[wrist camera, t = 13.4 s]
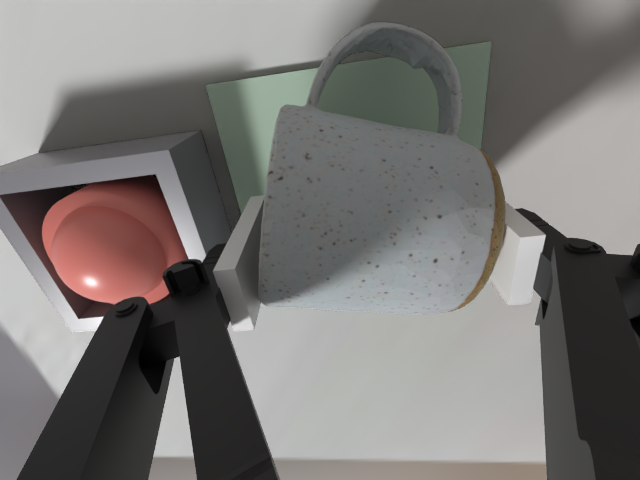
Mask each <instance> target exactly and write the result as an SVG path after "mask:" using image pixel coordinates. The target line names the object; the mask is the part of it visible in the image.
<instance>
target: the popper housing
mask: <svg viewBox="0 0 640 480" xmlns="http://www.w3.org/2000/svg"><path fill="white" fill-rule="evenodd" d="M153 174H156V176H157V179H158V181H159V184H160V187H161V189H162V192H163V194H164V197H165V199H166V202H167V205H168V207H169V210H170V212H171V215H172V217H173V220H174V223H175V225H176V228H177V230H178V233H179V236H180V238H181V241H182V243H183V246H184V248H185V251H186V254H187V256H188V259H198V260H201V261H202V262H203V260H204V259H205V257H206V255H207V253H208V252H209V250H211V249H212V248H213V247H214V246H216V245H217V244H224V243H227V242H228V240H229V238H230V236H231V234H232V233H231V229H230V226H229V223H228V219H227V216H226V213H225V209H224V206H223V203H222V199H221V196H220V193H219V189H218V186H217V183H216V179H215V176H214V173H213V169H212V166H211V163H210V159H209V156H208V153H207V149H206V146H205V143H204V139H203V136H202V133H201V130H198V131H191V132H184V133H177V134H170V135H163V136H156V137H149V138H142V139H135V140H128V141H121V142H114V143H107V144H100V145H93V146H86V147H79V148H72V149H65V150H58V151H51V152H43V153H37V154H34V155H31V156H28V157H25V158H22V159H20V160H17V161H14V162H11V163H8V164H5V165H2V166H0V229H1V230H2V231H3V233H4V234H5V236H6V237H7V239H8V240H9V242H10V243H11V245H12V246H13V248H14V249H15V251H16V252H17V254H18V255H19V257H20V258H21V260H22V261H23V262H24V264H25V265H26V267H27V268H28V270H29V271H30V273H31V274H32V276H33V277H34V279H35V280H36V282H37V283H38V285H39V286H40V288H41V289H42V291H43V292H44V293H45V295H46V296H47V298H48V299H49V301H50V302H51V304H52V305H53V307H54V308H55V310H56V311H57V313H58V314H59V316H60V317H61V319H62V320H63V322H64V323H65V324H66V326H67V327H68V329H69V330H70V332H71V333H73V332H84V331H94V330H97V328H98V327H99V325H100V323H101V321H102V319H103V317H104V315H105V314H106V312H107V311H108V310H109V309H110V308H111V307H112V306H114V305H115V304H111V303H105V302H98V301H94V300H91V299H88V298H86V297H83V296H81V295H79V294H77V293H76V292H74V291H73V290H72V289H70V288H69V287H68V286H67V285H66V284H65V283H64V282H63V281H62V279H61V278H60V277H59V275H58V274H57V272H56V270H55V267H54V265H53V263H52V262H51V260H50V258H49V257H48V255H47V252H46V250H45V247H44V243H43V239H42V226H43V222H44V218H45V216H46V214H47V212H48V211H49V210H50V208H51V207H52V206H53V205H54V204H55V203H57V202H58V201H59V200H61V199H63V198H65V197H66V196H68V195H70V194H72V193H74V190H73V188H72V187H71V185H78V184H85V183H93V182H100V181H108V180H115V179H123V178H130V177H138V176H145V175H153ZM169 299H171V295H170V293H169V294H168V295H167V296H166V297H164V298H162V299H161V300H159V301H157V302H154V303H151V304H149V305H154V304H157V303H160V302H164V301H167V300H169Z"/></svg>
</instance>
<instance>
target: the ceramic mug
mask: <svg viewBox="0 0 640 480" xmlns="http://www.w3.org/2000/svg"><path fill="white" fill-rule="evenodd" d="M364 51H370V52H375V53H378V54H382V55H385V56H389V57H393V58H397V59H399V60H402V61H404V62H406V63H408V64H409V65H410V66H411V67H412V68H413V69H420V68H423V69H424V70H425V71H426V72H427V73H428V75H429V76H430V78H431V80H432V82H433V84H434V86H435V89H436V91H437V96H438V106H439V125H438V132H437V133H435V132H430V131H425V130H418V129H411V128H403V127H397V126H392V125H387V124H383V123H379V122H374V121H370V120H365V119H360V118H356V117H352V116H347V115H341V114H337V113H331V112H325V111H322V110H320V108H319V106H318V102H319V98H320V96H321V93H322V91H323V88H324V86H325V84H326V82H327V80H328V78H329V77H330V75H331V73H332V72H333V70H334V69H335V68H336V66H337V65H338V64H339V63H340V62H341V61H342V60H343V59H344V58H346V57H347V56H349V55H351V54H352V53H355V52H364ZM462 100H463V94H462V89H461V83H460V77H459V74H458V71H457V68H456V66H455V65H454V63H453V61H452V60H451V58H450V56H449V55H448V53H447V52H446V51H445V50H444V49H443V47H442V46H441V45H440V44H439V43H438V42H437V41H435V40H434V39H433V38H431V37H430V36H428V35H427V34H425V33H423V32H421V31H420V30H418V29H415V28H413V27H409V26H406V25H402V24H397V23H390V22H373V23H369V24H366V25H363V26H360V27H358V28H356V29H354V30H353V31H351V32H350V33H348V34H347V35H346V36H345V37H344V38H342V39H341V40H340V41H339V42H338V43H337V44H336V45H335V46H334V47H333V48H332V49H331V50H330V51H329V53H328V54H327V56H326V57H325V59H324V60H323V62H322V63H321V65H320V67H319V69H318V71H317V73H316V75H315V78H314V81H313V83H312V86H311V89H310V92H309V96H308V99H307V103H306V105H305V106H297V105H288V104H286V105H284V106H283V107H281V108H280V111H279V113H278V117H277V119H276V123H275V129H274V134H273V139H272V144H271V151H270V158H269V165H268V172H267V181H266V189H265V196H264V205H263V216H262V223H261V238H260V252H259V282H258V297H259V300H260V301H261V302H262V304H263V305H265V306H267V307H290V308H307V309H322V310H337V311H359V312H380V313H392V314H410V315H425V314H434V313H443V312H449V311H453V310H456V309H459V308H461V307H463V306H465V305H466V304H468V303H469V302H471V301H472V300H473V299H474V298H475V297H476V296H477V295H478V294H479V292H480V291H481V290H482V289H483V287H484V286H485V284H486V282H487V281H488V279H489V277H490V276H491V274H492V272H493V269H494V267H495V264H496V262H497V259H498V257H499V254H500V250H501V246H502V241H503V234H504V227H505V214H506V210H505V196H504V192H503V188H502V184H501V180H500V176H499V174H498V172H497V170H496V168H495V166H494V165H493V163H492V161H491V159H490V158H489V157H488V155H487V154H486V153H485V152H483V151H482V150H481V149H479V148H477V147H475V146H472V145H470V144H468V143H466V142H463V141H461V140H459V138H458V130H459V128H460V125H461V116H462V112H463V110H462Z"/></svg>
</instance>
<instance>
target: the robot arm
mask: <svg viewBox="0 0 640 480" xmlns="http://www.w3.org/2000/svg"><path fill="white" fill-rule="evenodd" d="M264 196H265V195H260V196H252V197H250V199H249V201H248V203H247V205H246V207H245V209H244V211H243V213H242V215H241V217H240V219H239V221H238V223H237V225H236V227H235V229H234V230H233V232H232V234H231V236H230V238H229V240H228V242H227V243H224V244H217V245H216V246H214V247H213V248H212V249H211V250H209V252H208V253H207V255H206V257H205V259H204V260H203V262H202V261H201V260H198V259H187V260H183V261H180V262H177V263H175V264H173V265H172V266H170V267H168V268H167V269H166V270H165V271H164V272H163V276H162V277H163V280H164V282H165V284H166V286H167V289H168V291H169V293H170V295H171V299H169V300H167V301H164V302H160V303H157V304H154V305H149V303H148V301H147V300H146V299H145V298H144V297H139V296H138V297H131V298H128V299H124V300H122V301H120V302H118V303H116V304H115V305H114V306H112V307H111V308H110V309H109V310H108V311H107V312H106V314H105V315H104V317H103V319H102V321H101V323H100V325H99V327H98V328H97V330H96V332H95V334H94V336H93V338H92V340H91V342H90V343H89V345H88V347H87V349H86V351H85V353H84V355H83V356H82V358H81V360H80V362H79V364H78V366H77V368H76V370H75V371H74V373H73V375H72V377H71V379H70V381H69V383H68V384H67V386H66V388H65V390H64V392H63V394H62V396H61V398H60V399H59V401H58V403H57V405H56V407H55V409H54V411H53V413H52V414H51V416H50V418H49V420H48V422H47V424H46V426H45V428H44V430H43V431H42V433H41V435H40V437H39V439H38V441H37V442H36V444H35V446H34V448H33V450H32V452H31V454H30V456H29V458H28V459H27V461H26V463H25V465H24V467H23V469H22V470H21V472H20V474H19V476H18V478H17V480H148V477H149V473H150V468H151V463H152V459H153V454H154V450H155V445H156V440H157V436H158V431H159V427H160V422H161V417H162V413H163V408H164V404H165V399H166V394H167V390H168V385H169V380H170V376H171V371H172V367H173V362H174V358H176V357H179V356H180V362H181V369H182V376H183V383H184V390H185V397H186V404H187V411H188V418H189V425H190V432H191V439H192V446H193V453H194V460H195V467H196V474H197V480H280V478H279V475H278V472H277V469H276V467H275V464H274V461H273V458H272V455H271V452H270V449H269V447H268V444H267V441H266V438H265V435H264V432H263V430H262V427H261V424H260V421H259V418H258V415H257V412H256V410H255V407H254V404H253V401H252V398H251V395H250V393H249V390H248V387H247V384H246V381H245V378H244V375H243V373H242V370H241V367H240V364H239V361H238V358H237V356H236V353H235V350H234V347H233V344H232V341H231V338H230V336H229V333H228V330H227V328H228V325H229V322H230V321H231V324H232V327H233V330H234V331H245V330H254V328H255V324H256V320H257V316H258V312H259V308H260V304H261V301H260V300H259V297H258V282H259V252H260V238H261V223H262V216H263V205H264ZM505 210H506V214H505V227H504V234H503V241H502V246H501V250H500V254H499V257H498V259H497V262H496V264H495V267H494V269H493V272H492V274H491V276H490V277H489V280H490V281H491V283H492V284H493V286H494V287H495V288H496V290H497V291H498V292H499V294H500V295H501V297H502V298H503V299H504V301H505V302H506V303H507V305H508V306H510V305H521V304H531V300H532V296H533V291H534V290H535V291H536V292H537V293H538V295H539V296H540V297H541V301H540V305H539V309H538V314H537V318H536V322H535V325H539V323H540V342H541V362H542V383H543V404H544V424H545V445H546V466H547V480H640V244H638V245H637V247H636V249H635V252H634V254H633V256H632V255H616V254H606V251H605V250H604V249H603V247H601V246H600V245H598V244H596V243H594V242H591V241H588V240H584V239H578V238H567V237H565V236H564V235H563V234H561V233H560V232H559V231H557V230H556V229H555V228H553V227H552V226H551V225H549V224H548V223H547V222H546V221H544V220H542V218H540V217H539V216H538V215H536V214H535V213H533V212H530V211H528V210H525V209H523V208H520V209H514V208H513V207H511V206H510V205H509V204H508V203H506V202H505Z"/></svg>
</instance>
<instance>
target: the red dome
mask: <svg viewBox="0 0 640 480" xmlns="http://www.w3.org/2000/svg"><path fill="white" fill-rule="evenodd" d="M42 239H43V243H44V247H45V250H46V252H47V255H48V257H49V258H50V260H51V262H52V263H53V265H54V267H55V270H56V272H57V274H58V275H59V277H60V278H61V279H62V281H63V282H64V283H65V284H66V285H67V286H68V287H69V288H70V289H72V290H73V291H74V292H76V293H77V294H79V295H81V296H83V297H86V298H88V299H91V300H94V301H98V302H105V303H111V304H116V303H118V302H120V301H122V300H124V299H128V298H131V297H138V296H139V297H144V298H145V299H146V300H147V301H148V303H149V304H151V303H154V302H157V301H159V300H161V299H162V298H164V297H166V296H167V295H168V294H169V291H168V289H167V286H166V284H165V282H164V280H163V277H162V276H163V272H164V271H165V270H166V269H167V268H168V267H170V266H172V265H173V264H175V263H177V262H180V261H183V260H187V259H188V256H187V254H186V251H185V248H184V246H183V243H182V241H181V238H180V236H179V233H178V230H177V228H176V225H175V223H174V220H173V217H172V215H171V212H170V210H169V207H168V205H167V202H166V199H165V197H164V194H163V192H162V189H161V187H160V184H159V181H158V179H157V178H155V177H153V176H151V175H145V176H138V177H130V178H123V179H115V180H108V181H100V182H93V183H90V184H88V185H86V186H85V187H83V188H81V189H79V190H77V191H76V192H74V193H72V194H70V195H68V196H66V197H65V198H63V199H61V200H59V201H58V202H57V203H55V204H54V205H53V206H52V207H51V208H50V210H49V211H48V212H47V214H46V216H45V218H44V222H43V226H42Z"/></svg>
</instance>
